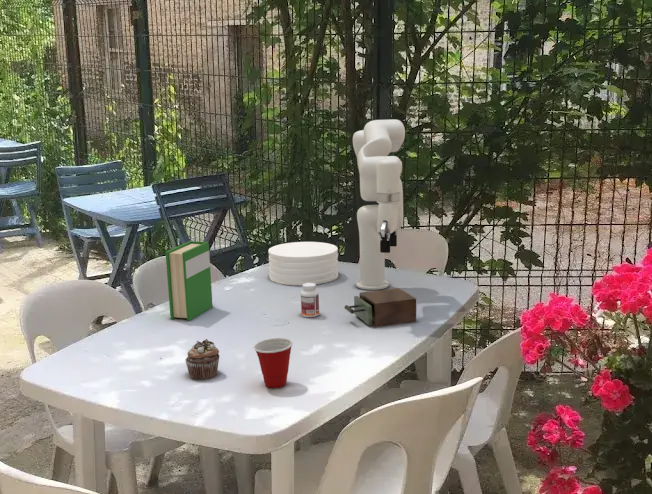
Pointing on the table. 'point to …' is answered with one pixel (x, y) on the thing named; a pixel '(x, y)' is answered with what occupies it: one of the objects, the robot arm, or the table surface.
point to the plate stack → (303, 263)
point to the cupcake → (203, 360)
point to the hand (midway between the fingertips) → (388, 249)
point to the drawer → (362, 309)
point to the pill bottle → (309, 300)
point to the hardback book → (189, 280)
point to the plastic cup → (274, 360)
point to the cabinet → (391, 306)
